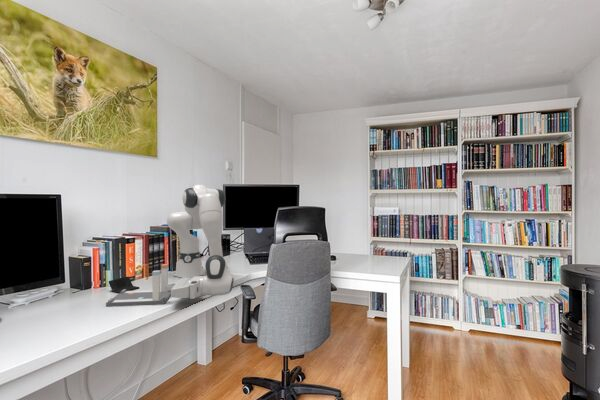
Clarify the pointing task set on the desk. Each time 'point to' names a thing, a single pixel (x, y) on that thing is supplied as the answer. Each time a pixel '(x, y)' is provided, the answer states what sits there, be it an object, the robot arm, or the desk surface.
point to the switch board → (138, 298)
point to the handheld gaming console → (122, 285)
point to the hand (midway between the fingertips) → (165, 287)
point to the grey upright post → (164, 276)
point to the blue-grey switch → (156, 284)
